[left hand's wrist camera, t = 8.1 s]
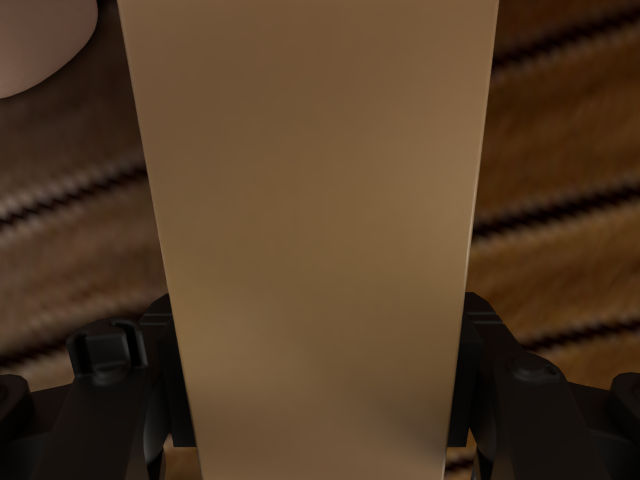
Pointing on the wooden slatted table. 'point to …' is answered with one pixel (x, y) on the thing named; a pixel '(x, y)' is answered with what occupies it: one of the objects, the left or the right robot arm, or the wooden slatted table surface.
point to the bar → (314, 221)
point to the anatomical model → (40, 39)
